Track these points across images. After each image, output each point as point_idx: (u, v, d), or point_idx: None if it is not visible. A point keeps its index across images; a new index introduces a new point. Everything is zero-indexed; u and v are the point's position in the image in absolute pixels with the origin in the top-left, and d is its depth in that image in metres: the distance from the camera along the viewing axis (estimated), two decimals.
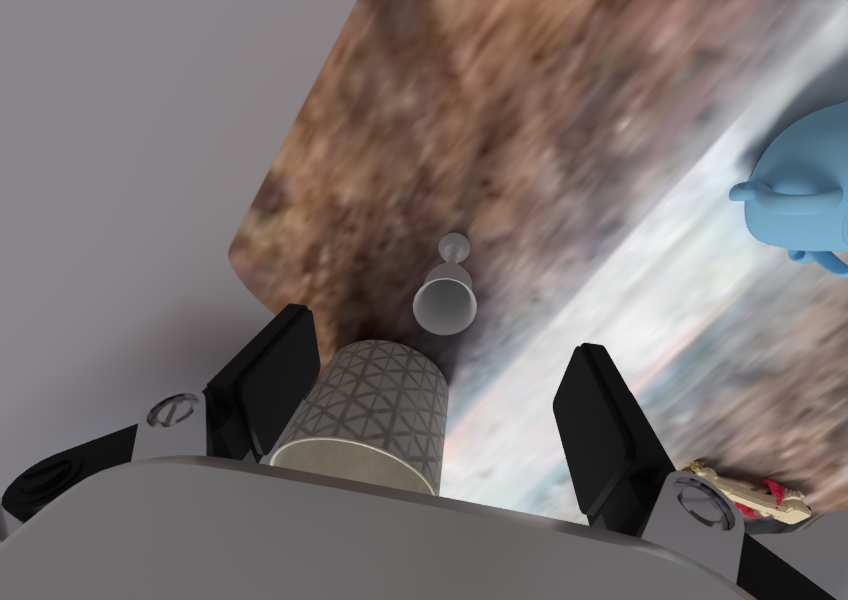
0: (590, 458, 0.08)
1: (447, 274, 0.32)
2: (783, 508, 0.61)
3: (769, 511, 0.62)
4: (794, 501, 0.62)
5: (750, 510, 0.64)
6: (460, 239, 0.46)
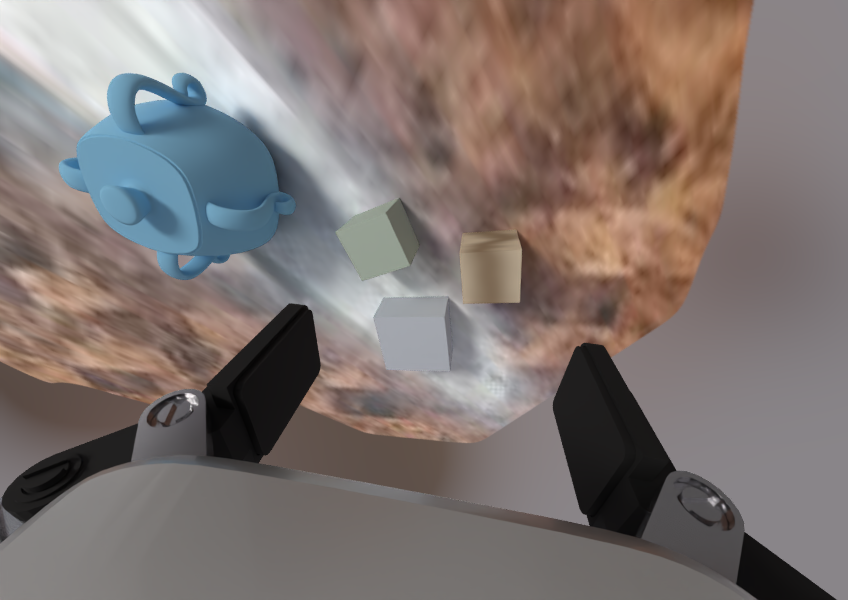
0: (590, 458, 0.08)
1: None
2: None
3: None
4: None
5: None
6: None
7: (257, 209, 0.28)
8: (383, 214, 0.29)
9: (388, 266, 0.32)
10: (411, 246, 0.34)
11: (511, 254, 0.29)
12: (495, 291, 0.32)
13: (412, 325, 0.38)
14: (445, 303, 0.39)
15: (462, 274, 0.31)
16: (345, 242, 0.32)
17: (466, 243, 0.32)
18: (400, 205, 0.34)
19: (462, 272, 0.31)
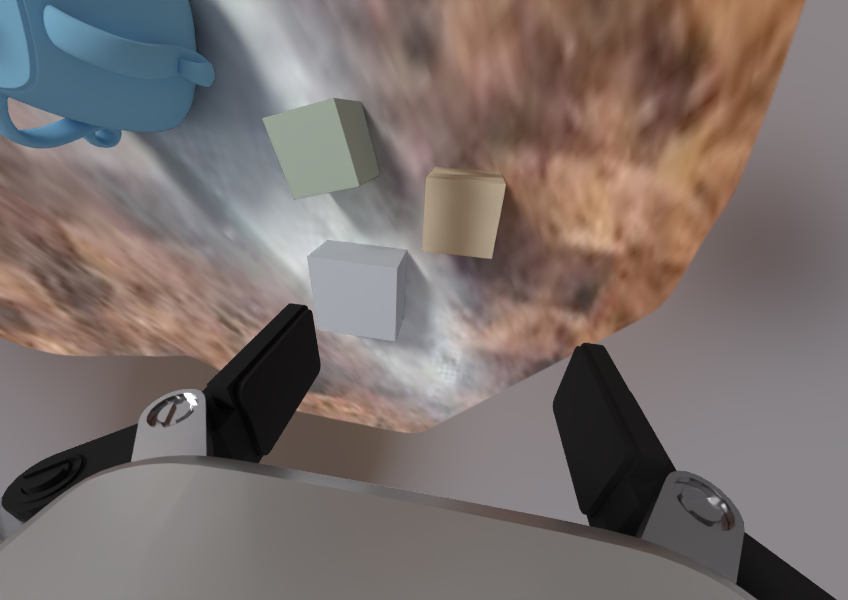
0: (590, 458, 0.08)
1: None
2: None
3: None
4: None
5: None
6: None
7: (137, 43, 0.19)
8: (330, 100, 0.21)
9: (330, 182, 0.24)
10: (367, 167, 0.26)
11: (491, 189, 0.23)
12: (464, 238, 0.25)
13: (355, 274, 0.30)
14: (401, 255, 0.31)
15: (426, 209, 0.24)
16: (274, 137, 0.23)
17: (437, 172, 0.25)
18: (360, 111, 0.26)
19: (426, 206, 0.24)
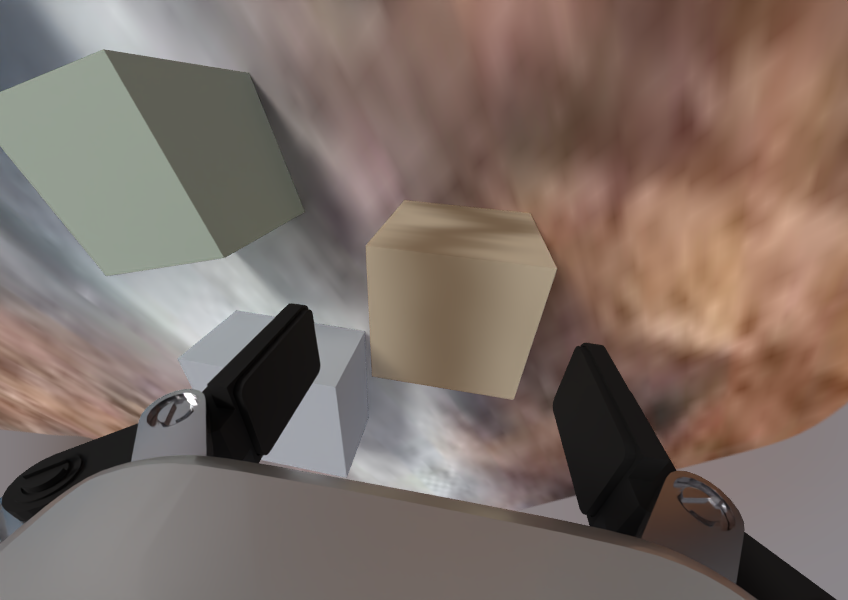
0: (590, 458, 0.08)
1: None
2: None
3: None
4: None
5: None
6: None
7: None
8: (98, 56, 0.08)
9: (164, 247, 0.11)
10: (260, 206, 0.13)
11: (520, 276, 0.09)
12: (457, 363, 0.12)
13: None
14: (352, 348, 0.18)
15: (372, 307, 0.11)
16: (14, 150, 0.10)
17: (399, 222, 0.12)
18: (246, 91, 0.13)
19: (372, 302, 0.11)
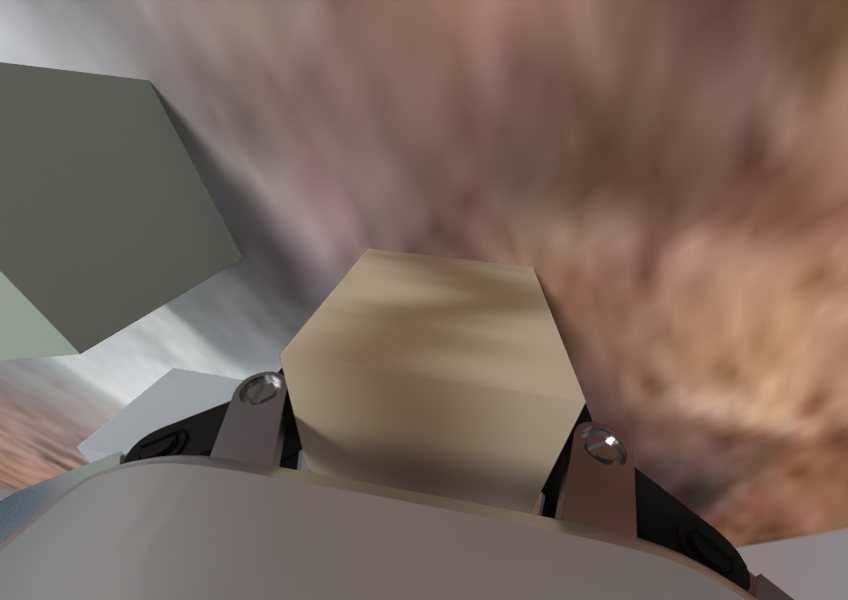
0: None
1: None
2: None
3: None
4: None
5: None
6: None
7: None
8: None
9: None
10: (162, 263, 0.09)
11: (525, 407, 0.06)
12: None
13: None
14: None
15: (303, 429, 0.07)
16: None
17: (349, 295, 0.08)
18: (142, 106, 0.09)
19: (302, 423, 0.07)
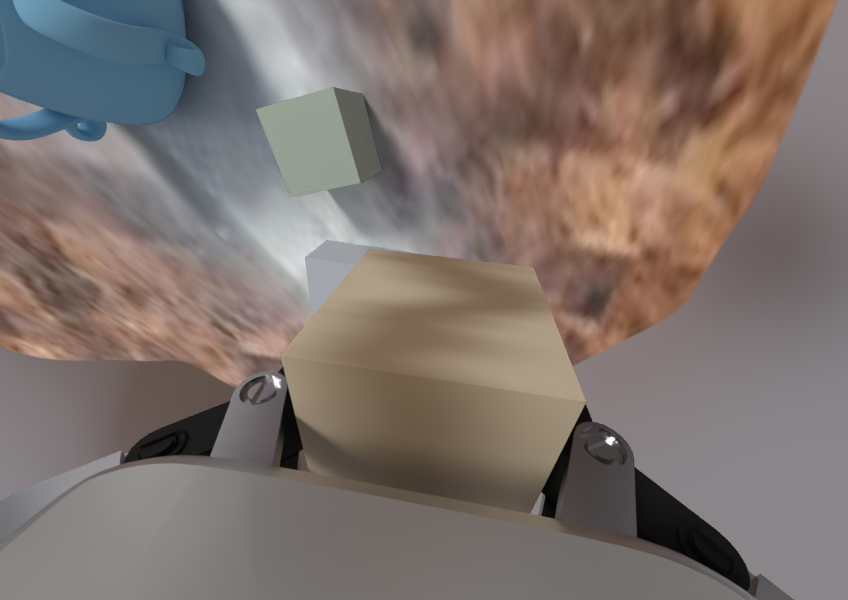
0: None
1: None
2: None
3: None
4: None
5: None
6: None
7: (117, 24, 0.17)
8: (329, 89, 0.20)
9: (330, 178, 0.23)
10: (368, 162, 0.24)
11: (525, 407, 0.06)
12: None
13: None
14: None
15: (303, 430, 0.07)
16: (269, 129, 0.21)
17: (349, 296, 0.08)
18: (362, 103, 0.24)
19: (303, 423, 0.07)
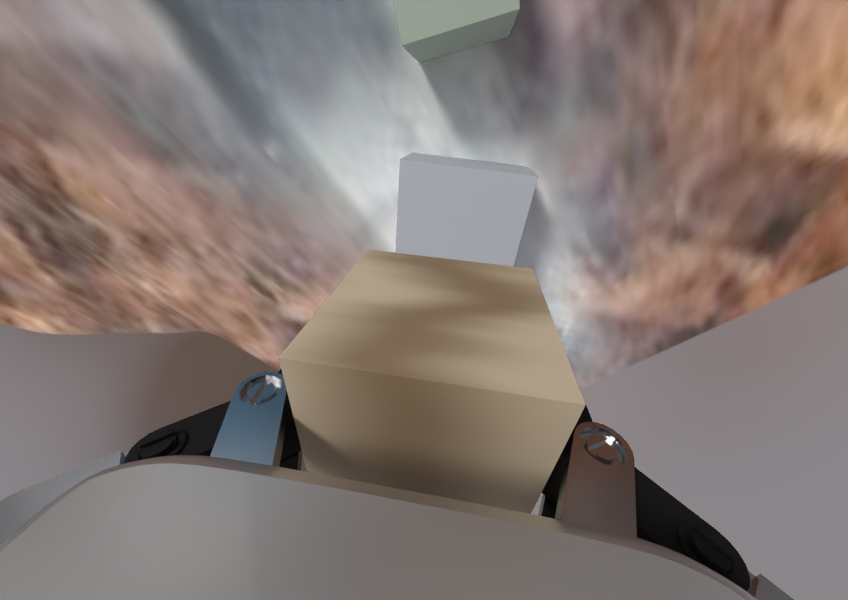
0: None
1: None
2: None
3: None
4: None
5: None
6: None
7: None
8: None
9: (470, 4, 0.15)
10: None
11: (524, 410, 0.06)
12: None
13: (470, 189, 0.20)
14: (528, 169, 0.22)
15: (302, 432, 0.07)
16: None
17: (348, 298, 0.08)
18: None
19: (301, 426, 0.07)
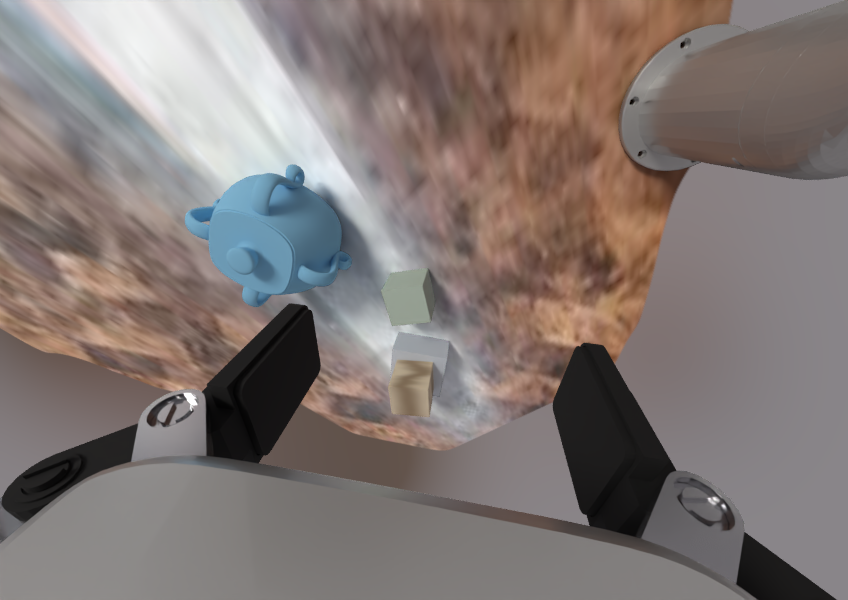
0: (590, 458, 0.08)
1: None
2: None
3: None
4: None
5: None
6: None
7: (333, 272, 0.38)
8: (420, 286, 0.41)
9: (414, 319, 0.44)
10: (431, 305, 0.46)
11: (421, 391, 0.44)
12: (413, 409, 0.47)
13: (421, 360, 0.49)
14: (447, 346, 0.51)
15: (390, 398, 0.46)
16: (386, 299, 0.43)
17: (395, 374, 0.47)
18: (428, 274, 0.46)
19: (390, 396, 0.46)
